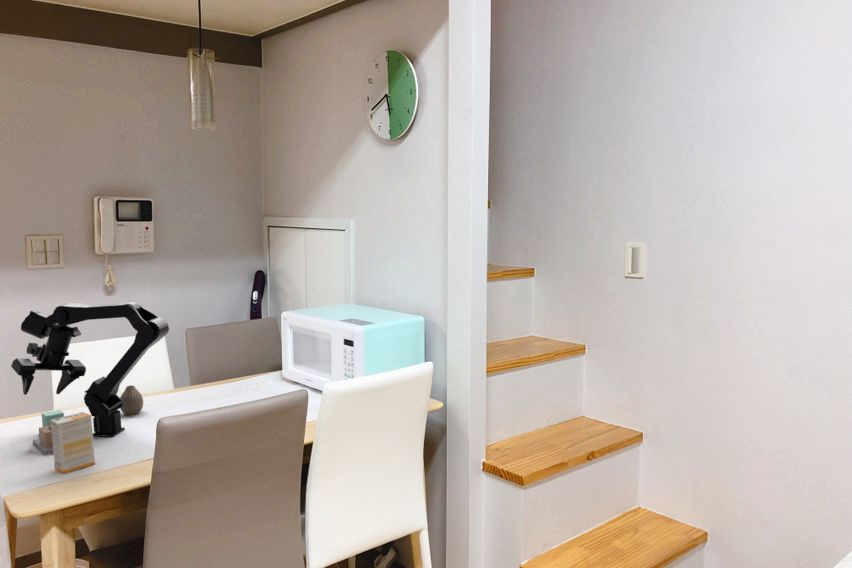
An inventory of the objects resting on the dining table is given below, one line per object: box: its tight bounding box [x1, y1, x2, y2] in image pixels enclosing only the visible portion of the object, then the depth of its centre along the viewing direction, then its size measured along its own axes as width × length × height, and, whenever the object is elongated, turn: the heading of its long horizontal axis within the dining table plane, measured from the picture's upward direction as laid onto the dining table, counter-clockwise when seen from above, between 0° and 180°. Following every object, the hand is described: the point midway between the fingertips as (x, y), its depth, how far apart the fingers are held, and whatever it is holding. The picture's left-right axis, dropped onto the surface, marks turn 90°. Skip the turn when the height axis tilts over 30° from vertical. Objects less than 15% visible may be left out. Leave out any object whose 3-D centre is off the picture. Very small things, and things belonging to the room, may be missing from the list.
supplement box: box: [50, 411, 96, 474], centre depth 175 cm, size 8×5×13 cm, turn 141°
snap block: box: [41, 409, 65, 427], centre depth 201 cm, size 5×5×6 cm
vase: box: [119, 385, 144, 416], centre depth 219 cm, size 7×7×9 cm
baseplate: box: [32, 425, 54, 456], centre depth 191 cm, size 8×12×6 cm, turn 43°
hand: (41, 394), depth 201 cm, fingers open, 9 cm apart
